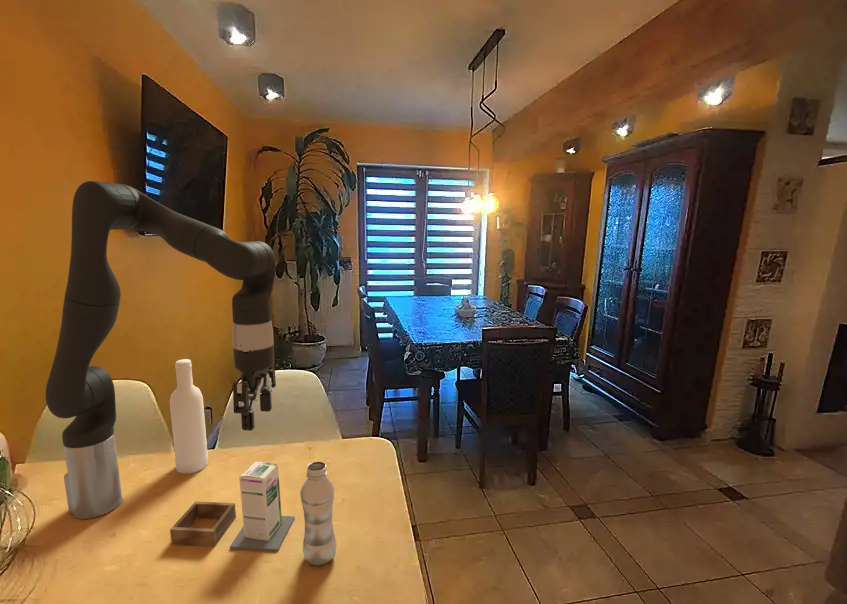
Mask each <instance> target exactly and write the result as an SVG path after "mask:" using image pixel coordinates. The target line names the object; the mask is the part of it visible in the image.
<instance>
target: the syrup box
mask: <svg viewBox="0 0 847 604" xmlns="http://www.w3.org/2000/svg"><path fill="white" fill-rule="evenodd" d="M279 473H280V472H279V465H278V464H277V463H272V462H265V461H254V462H253V463H252V464H251V465H250V466H249V467H248V468H246V469H245V471H243V472H242V473H241V474H240V475H239V479H238V480H239V489H240V490H239V491H240V501H241V512H242V513H241V514H242V523H243V526H244V536H245V537H247V538H252V539H258V540H265V541H269V540H270V538H271V537H272V535H273V534H274V533H275V532H276V530H277V529H278V528H279V526H280V525H281V524H282V516H283V515H282V505H281V490H280V475H279Z"/></svg>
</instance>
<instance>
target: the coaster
mask: <svg viewBox="0 0 847 604" xmlns="http://www.w3.org/2000/svg"><path fill="white" fill-rule="evenodd" d="M281 516H282V524H281V525H280V526H279V528H278V529H277V530H276V532H275V533H274V534H273V535H272V537H271V538H270V540H269V541H265V540H258V539H252V538H247V537H245V536H244V525H243V526H242V528H241V529H240V530H239V532H238V534H237V535H236V537H235V538H234V540H232V542H231V544H230V546H229V550H239V551H240V550H241V551H259V552H260V551H261V552H277V553H278V552H279V550H280V548H281V546H282V544H283V542H284V541H285V538H286V536H287V534H288V533H289V531H290V529H291V527H292V525H293V523H294V521H295V520H296V517H295V515H293V516H292V515H281Z"/></svg>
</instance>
